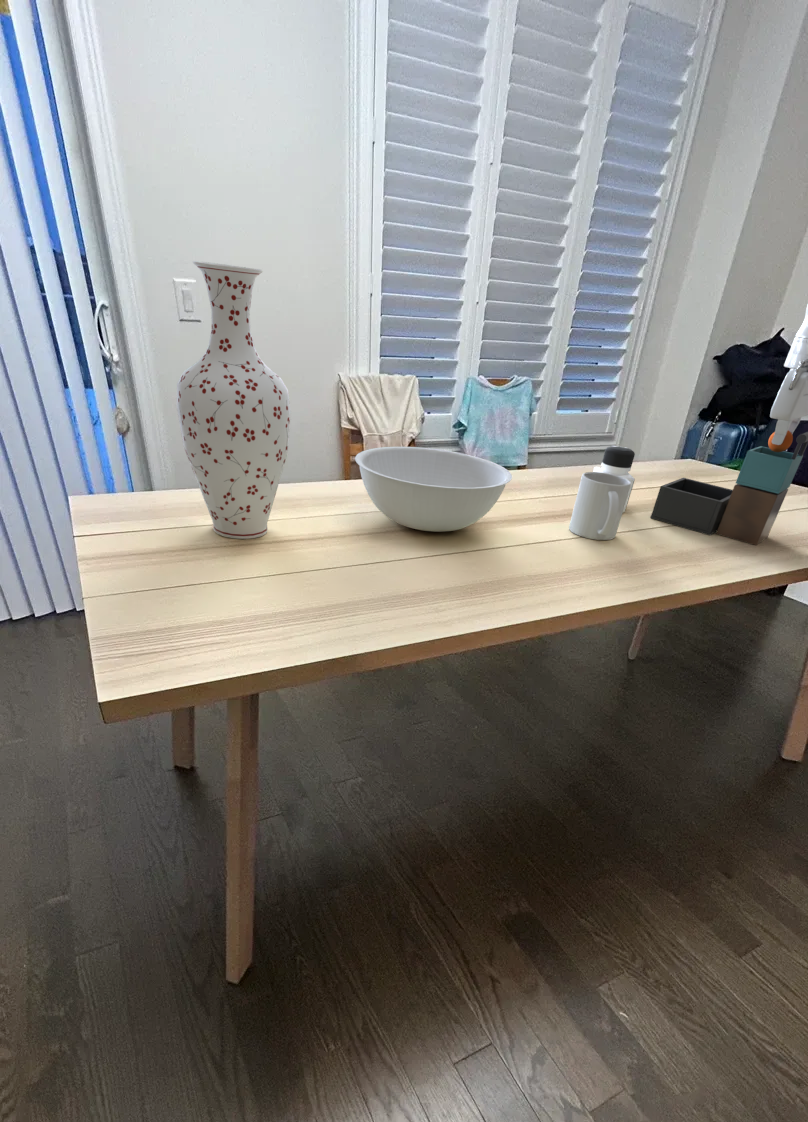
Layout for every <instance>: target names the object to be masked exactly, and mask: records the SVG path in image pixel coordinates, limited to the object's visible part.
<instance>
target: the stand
mask: <svg viewBox="0 0 808 1122" xmlns="http://www.w3.org/2000/svg"><path fill="white" fill-rule="evenodd" d="M732 490H733V491H732V494H731V496H730V499H729V501H728V504H727V506H726V509H725V512H724V514H723V517H722V519H721V522H720V525H719V527H718V530H717V531H716V532H715V535H718V536H722V537H726V538H729V539H733V540H736V541H740V542H742V543H747V544H749V545H754V546H758V544H761V542H763V541H764V540H765V539H767V538H768V537H769V535H770V533H771V531H772V528H773V526H774V524H775V522H776V520H777V517H778V514H779V512H780V510H781V509H782V505H783V503H784V500H785V499H786V496H787V495H788V491H789V488H787V489H785V490H784V491H782V492H780V493H779V494H777V493H773V492H769V491H765V490H761V489H757V488H753V487H749V486H745V485H740V484H736V483H735V484H734V486H733V488H732Z"/></svg>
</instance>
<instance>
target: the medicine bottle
mask: <svg viewBox="0 0 808 1122" xmlns="http://www.w3.org/2000/svg"><path fill="white" fill-rule="evenodd" d="M635 457H636V452H635V451H634V450H632V449H631V448H628V447H625V446H619V445H610V446H608V447H606V448H605V449H604V453H603V458H602V461H601V464H600V466H595V467H593V470H592V472H601V473H608V474H613V475H617V476H620V477H623V478H626V479H628V480H629V481H630V482H631V486H630V489H629V493H628V496H627V499H626V503H625V506H624V509H623V513H626V511H627V507H628V503H629V500H630V498H631V494H632V490H633V487H634V484H635V477H633V475H632V474H630V472H631V469H632V466H633V462H634V460H635Z"/></svg>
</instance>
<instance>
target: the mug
mask: <svg viewBox="0 0 808 1122" xmlns="http://www.w3.org/2000/svg"><path fill="white" fill-rule="evenodd" d="M630 486H631V482H630V481H629V480H628V479H626V478H623V477H620V476H617V475H613V474H608V473H601V472H593V471H588V472H583V473H582V475H581V477H580V481H579V485H578V490H577V494H576V497H575V501H574V505H573V510H572V514H571V517H570V522H569V525H568V529H569V531H570V532H571V533H573V534H575V535H576V536H580V537H581V538H586V539H589V540H595V541H596V540H597V541H609V540H614V539H615V538H616V536H617V532H618V530H619V526H620V523H621V519H622V516H623V513H624V512H623V509H624V506H625V503H626V499H627V496H628V493H629V489H630Z"/></svg>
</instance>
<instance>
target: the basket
mask: <svg viewBox="0 0 808 1122" xmlns="http://www.w3.org/2000/svg"><path fill="white" fill-rule="evenodd" d="M732 491H733V489H731V488H727V487H723V486H719V485H715V484H710V483H707V482H703V481H699V480H694V479H691V478H686V477H681V478H679V479H675V480H673V481H670V482H668V483H665V484H662V485H660V487H659V489H658V493H657V496H656V499H655V501H654V504H653V509H652V512H651V515H650V519H653V520H656V521H659V522H662V523H666V524H670V525H673V526H677V527H680V528H684V529H687V530H690V531H694V532H696V533H697V532H698V533H700V534H704V535H708V536H711V535H713V534H714V533H716V532H717V530H718V527H719V525H720V522H721V519H722V517H723V514H724V512H725V509H726V506H727V504H728V501H729V499H730V496H731V494H732Z"/></svg>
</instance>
